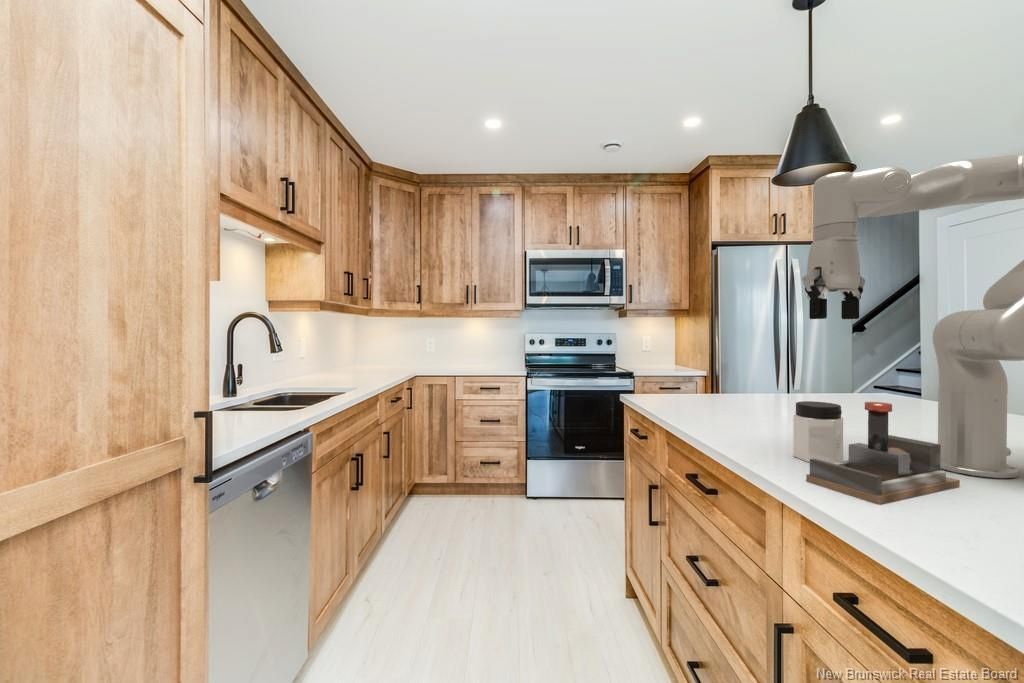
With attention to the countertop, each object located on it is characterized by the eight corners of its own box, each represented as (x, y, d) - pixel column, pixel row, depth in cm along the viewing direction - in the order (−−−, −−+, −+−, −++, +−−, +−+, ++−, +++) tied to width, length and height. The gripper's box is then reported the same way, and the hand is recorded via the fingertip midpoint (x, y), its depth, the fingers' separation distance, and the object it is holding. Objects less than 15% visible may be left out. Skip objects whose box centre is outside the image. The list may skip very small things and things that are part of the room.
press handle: (860, 468, 84) (860, 399, 84) (910, 481, 76) (911, 406, 76) (847, 471, 82) (847, 400, 82) (896, 484, 75) (897, 407, 75)
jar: (830, 467, 90) (830, 408, 89) (787, 458, 96) (787, 403, 96) (848, 460, 95) (848, 404, 94) (806, 451, 101) (806, 399, 101)
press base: (882, 467, 89) (882, 432, 89) (959, 486, 78) (960, 446, 78) (806, 481, 82) (806, 442, 81) (879, 504, 70) (879, 459, 70)
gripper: (843, 242, 97) (843, 319, 97) (787, 236, 91) (787, 319, 91) (882, 235, 90) (881, 318, 90) (824, 228, 84) (823, 318, 84)
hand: (834, 318), depth 91 cm, fingers open, 9 cm apart
